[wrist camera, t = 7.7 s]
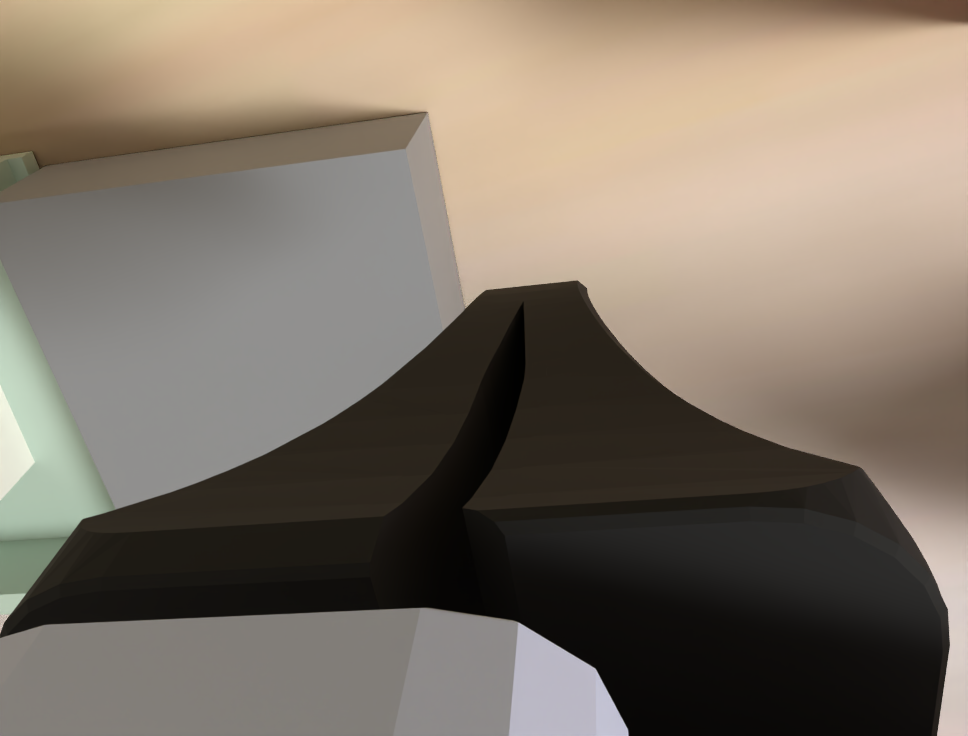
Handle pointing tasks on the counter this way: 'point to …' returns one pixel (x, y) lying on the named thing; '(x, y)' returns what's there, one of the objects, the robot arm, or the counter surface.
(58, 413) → the bin
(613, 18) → the counter surface
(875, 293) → the counter surface
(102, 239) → the bench plate
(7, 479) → the tile
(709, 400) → the counter surface
